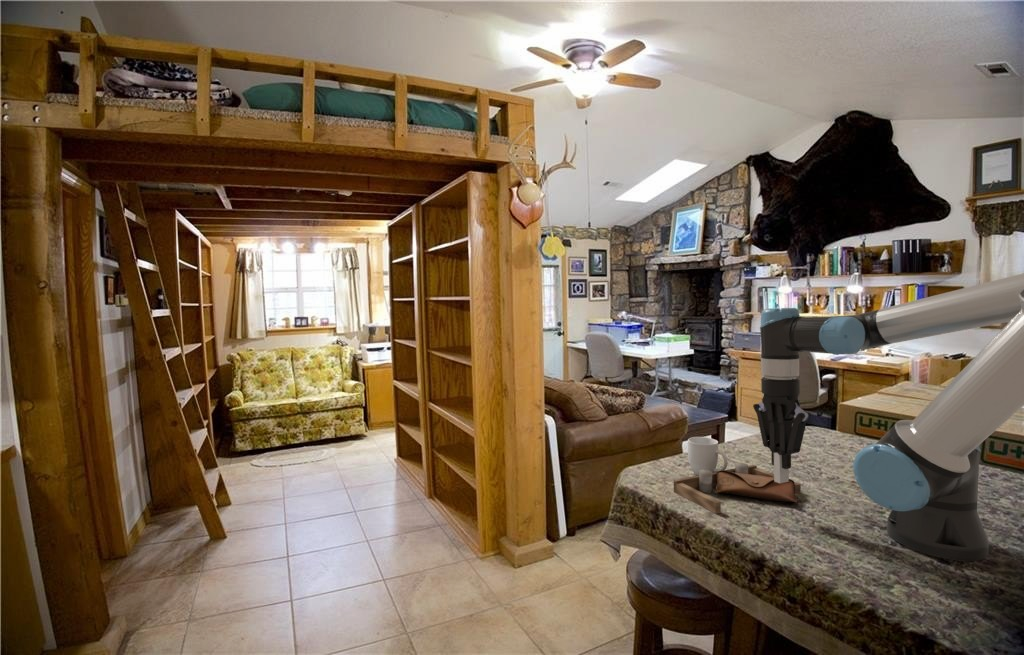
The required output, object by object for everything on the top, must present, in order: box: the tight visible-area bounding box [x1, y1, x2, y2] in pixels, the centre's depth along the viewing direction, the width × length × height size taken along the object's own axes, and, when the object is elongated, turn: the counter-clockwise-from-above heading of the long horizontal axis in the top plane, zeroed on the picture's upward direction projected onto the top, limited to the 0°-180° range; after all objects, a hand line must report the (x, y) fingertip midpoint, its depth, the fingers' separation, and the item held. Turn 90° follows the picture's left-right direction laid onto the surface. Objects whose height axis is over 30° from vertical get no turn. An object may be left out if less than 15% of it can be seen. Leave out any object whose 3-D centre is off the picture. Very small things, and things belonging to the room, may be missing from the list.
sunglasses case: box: [715, 470, 798, 503], centre depth 120 cm, size 18×7×7 cm
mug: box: [687, 436, 729, 476], centre depth 134 cm, size 11×8×9 cm
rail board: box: [673, 462, 802, 514], centre depth 122 cm, size 14×27×5 cm, turn 112°
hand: (781, 481), depth 110 cm, fingers closed
